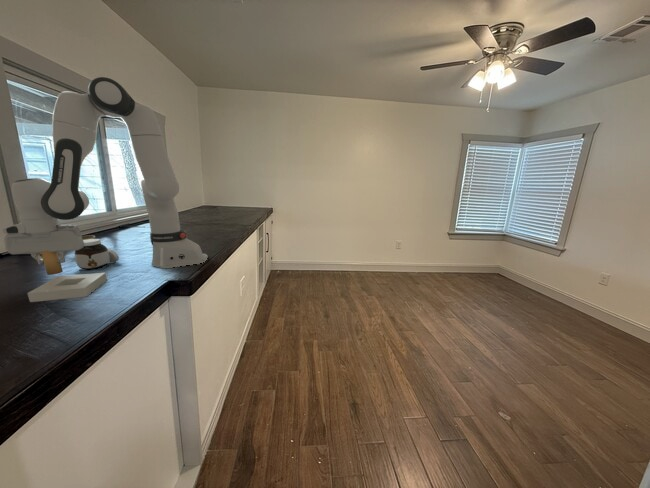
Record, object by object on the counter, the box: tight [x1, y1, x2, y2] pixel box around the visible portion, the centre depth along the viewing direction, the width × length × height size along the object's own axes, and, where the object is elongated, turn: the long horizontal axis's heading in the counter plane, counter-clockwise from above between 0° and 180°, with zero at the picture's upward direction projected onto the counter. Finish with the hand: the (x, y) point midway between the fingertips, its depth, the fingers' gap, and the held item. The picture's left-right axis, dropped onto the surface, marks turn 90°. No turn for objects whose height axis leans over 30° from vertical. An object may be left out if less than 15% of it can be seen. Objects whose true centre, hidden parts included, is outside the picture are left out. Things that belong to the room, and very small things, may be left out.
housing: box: [27, 272, 108, 303], centre depth 86 cm, size 14×14×3 cm
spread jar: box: [74, 238, 120, 271], centre depth 108 cm, size 12×11×12 cm
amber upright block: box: [40, 250, 64, 276], centre depth 93 cm, size 4×4×9 cm
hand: (52, 263), depth 93 cm, fingers closed on amber upright block, 4 cm apart
